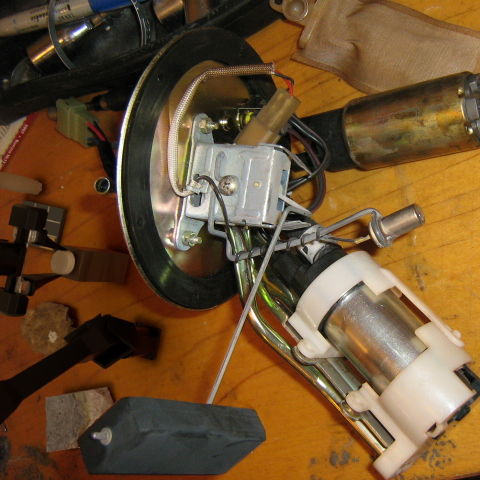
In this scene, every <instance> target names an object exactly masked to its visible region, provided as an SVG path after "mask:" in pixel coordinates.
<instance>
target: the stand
mask: <svg viewBox="0 0 480 480" xmlns="http://www.w3.org/2000/svg"><path fill="white" fill-rule="evenodd" d="M61 246H63V247H65V248H66V249H67V250H68V251H70V252H72V254H73V255H74V258H75V264H74V268H73V270H72V271H71V272H70V273H69V274H66V275H61V277H60V278H63V279H67V280H71V281H74V282H77V283H120V284H122V283H125V280H126V275H127V270H128V265H129V261H130V257H131V254H129V253H125V252H121V251H116V250H113V249H108V248H98V247H90V246H89V247H88V246H81V245H69V244H61Z"/></svg>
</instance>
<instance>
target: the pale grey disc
mask: <svg viewBox="0 0 480 480" xmlns="http://www.w3.org/2000/svg"><path fill="white" fill-rule="evenodd" d="M74 264H75V258H74V255H73V254H72V252H70V251H68V250H67V251H60V250H58V251H56V252H53V254H52V256H51V259H50V268H51V270H52V273H56V274H61V275H66V274H69V273H70V272H71V271H72V270H73V268H74Z"/></svg>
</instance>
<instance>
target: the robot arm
mask: <svg viewBox="0 0 480 480" xmlns="http://www.w3.org/2000/svg"><path fill="white" fill-rule="evenodd" d="M47 217H48V211H47V209H43V208H38V207H34V206H29V205H24V204H22V203H20V202H19V203H15V204H13V205H12V207H11V212H10V215H9V220H8V224H7V225H8V226H11V227H13V232H12V239H13V241H9V239H6V238H0V277H6V280H5V284H4V286H0V314H1V315H2V316H3V315H4V316H7V317H10V318H11V317H12V318H20V317H25V314H26V311H27V310H28V307H29V301H30V298H29V297H34V295H35V293H36V292H37V291H38V290H40V289H41V288H42V287H44V286H45V285H47V284H49V283H51V282H53V281H55V280H57V279H59V278H62V277H61V274H56V273H54V272H43V273H40V272H39V273H24V269H25V266H26V261H27V256H28V251H29V247H30V245H29V243H32V244H35V245H39V246H43V247H47V248H51V249H56V250H60V251H67V249H66V248H65V247H63V246H62V244H57V243H55V242H54V241H53V240H52V239H51V238H49V237H48V236H47V234H48V231H47V230H46V229H44V228H45V226H46V221H47ZM75 328H76V329H74V330H73V331H72V332H70V333H69V334H68V335H66V336H65V337H63V339H64V340H65V341H66V342H67V343H68V344H67V345H66V346H64V347H62V348H61V349H59V350H57V351H55V352H54V353H52V354H50V355H46V356H45V357H44V358H42V359H40V360H38V361H37V362H35V363H34V364H32V365H30V366H28V367H27V368H25V369H23V370H22V371H20V372H18V373H16V374H15V375H13V376H12V377H10V378H6V379H0V426H1V425H2V424H3V423H4V422H5V421H7V420H8V418H9V417H10V416H12V415H13V413H14V412H15V411H17V409H18V408H19V407H20V405H21V404H22V403H23V402H24V401H25V400H26V399H27V398H29V397H31V396H32V395H34V394H35V393H37V392H38V391H40V390H41V389H42V388H44V387H46V386H47V385H49V384H50V383H52V382H53V381H54V380H56V379H58V378H59V377H60V376H62V375H64V374H65V373H66V372H68V371H69V370H71V369H73V368H74V367H76V366H77V365H81V364H86V363H89V362H93V363H94V364H96V365H98V366H99V367H101V368H102V369H103V370H107V369H109V368H110V367H112V366H113V365H114V364H116V363H117V362H119V361H121V360H127V359H134V358H138V357H139V358H140V357H141V358H144V359H146V360H149V361H151V362H152V361H155V360H156V357H157V351H158V347H159V343H160V338H161V334H162V329H161V328H160V327H157V326H154V325H151V324H148V323H145V322H142V321H139V320H138V321H137V320H136V321H135V322H133V321H130V320H126V319H124V318H120V317H117V316H114V315H112V314H110V313H106V314H103V315H102V313H101V312H99V313H98V314H96V315H95V316H94V317H93V318H91V319H88V320H86V321H84V322H82V323H81V324H79V326H77V327H75Z"/></svg>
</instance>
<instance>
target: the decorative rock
mask: <svg viewBox="0 0 480 480" xmlns="http://www.w3.org/2000/svg"><path fill="white" fill-rule="evenodd" d="M69 311H70V307H69V306H65V305H64V304H63V303H58V302H57V303H55V302H51V301H45V302H42V303H40V304H39V305H38V306H37V307H36V308H29V309H27V311H26V314H25V315H24V316H23V318H22V319H21V322H20V324H19V325H20V327H19V328H20V330H19V331H20V334H21V336H22V338H23V339H24V341H25V342H26V343H27V344H28V345H29V346H30V348H31V352H34V353H37V354H41V355H44V356H49V355H50V354H52V353H54V352H55V351H57V350H59V349H61V348H62V347H64V346H66V345H67V344H68V343H67V342H66V341H65V340H64V339H63V337H65V336H66V335H68V334H69V333H70V332H72V331H73V330H74V329H76V328H77V327H74V326H72V325H73V324H74V321H75V319H74V318H73V319H71V318H72V317H70V314H69Z"/></svg>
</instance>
